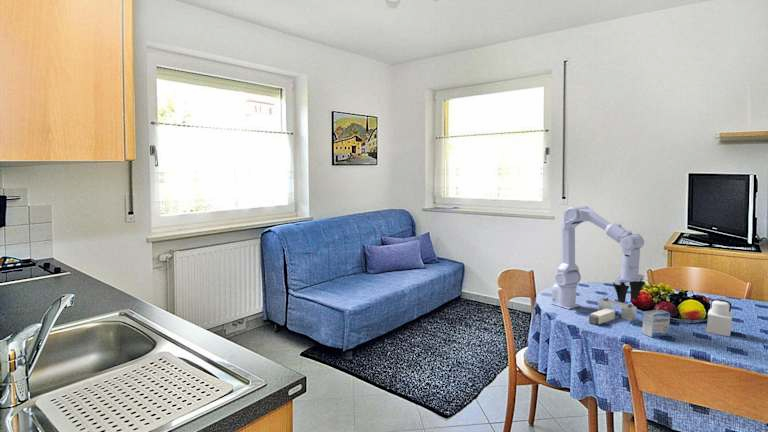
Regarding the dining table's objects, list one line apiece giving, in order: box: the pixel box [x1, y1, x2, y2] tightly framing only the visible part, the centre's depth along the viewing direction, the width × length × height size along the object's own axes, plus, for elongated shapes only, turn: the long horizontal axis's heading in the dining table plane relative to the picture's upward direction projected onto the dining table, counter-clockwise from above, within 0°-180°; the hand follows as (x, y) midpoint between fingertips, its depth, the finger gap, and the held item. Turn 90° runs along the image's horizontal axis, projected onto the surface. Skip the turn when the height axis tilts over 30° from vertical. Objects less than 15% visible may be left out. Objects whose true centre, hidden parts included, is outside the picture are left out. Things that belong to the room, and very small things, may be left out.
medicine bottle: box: [705, 298, 734, 337], centre depth 169 cm, size 7×7×12 cm
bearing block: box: [597, 297, 637, 322], centre depth 187 cm, size 14×3×6 cm, turn 34°
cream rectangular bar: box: [588, 308, 616, 325], centre depth 182 cm, size 14×4×4 cm, turn 124°
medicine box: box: [641, 309, 671, 339], centre depth 167 cm, size 8×4×9 cm, turn 105°
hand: (627, 300), depth 176 cm, fingers open, 7 cm apart
